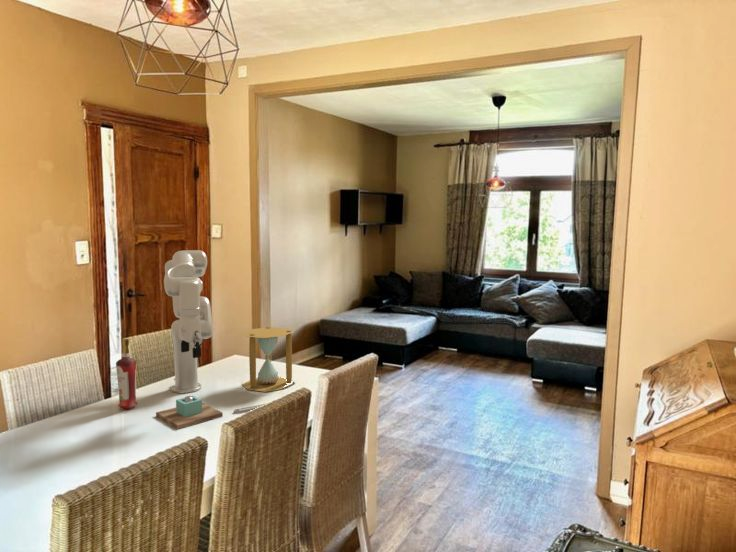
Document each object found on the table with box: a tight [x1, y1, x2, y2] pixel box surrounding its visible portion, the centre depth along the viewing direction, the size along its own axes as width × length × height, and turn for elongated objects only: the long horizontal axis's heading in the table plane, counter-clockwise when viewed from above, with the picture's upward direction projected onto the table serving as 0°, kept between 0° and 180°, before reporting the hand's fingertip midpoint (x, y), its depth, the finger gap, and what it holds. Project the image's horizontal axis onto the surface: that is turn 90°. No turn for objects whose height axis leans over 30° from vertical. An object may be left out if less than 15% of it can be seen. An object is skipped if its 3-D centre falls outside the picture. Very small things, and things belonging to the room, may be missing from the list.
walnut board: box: [155, 402, 224, 430], centre depth 203 cm, size 18×18×2 cm
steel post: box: [184, 395, 194, 403], centre depth 203 cm, size 3×3×6 cm
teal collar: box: [175, 395, 203, 417], centre depth 203 cm, size 7×7×5 cm
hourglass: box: [241, 326, 295, 393], centre depth 242 cm, size 24×22×25 cm
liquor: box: [115, 338, 138, 411], centre depth 211 cm, size 7×7×28 cm
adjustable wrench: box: [233, 403, 266, 415], centre depth 214 cm, size 25×6×2 cm, turn 116°
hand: (191, 354), depth 207 cm, fingers open, 9 cm apart
